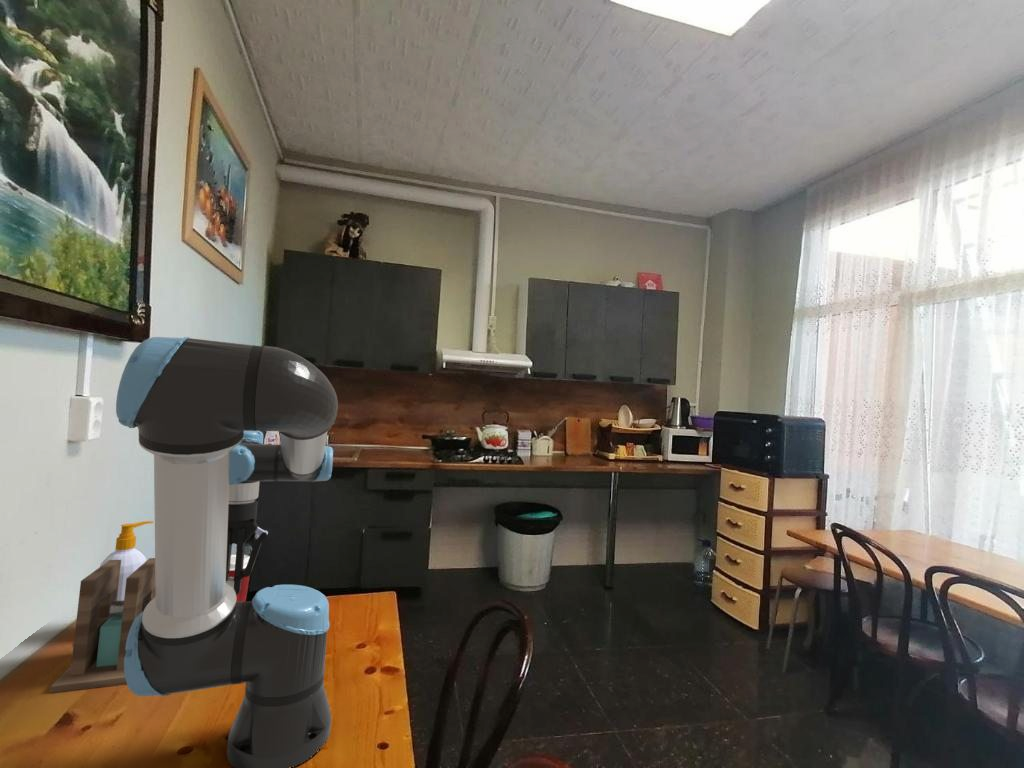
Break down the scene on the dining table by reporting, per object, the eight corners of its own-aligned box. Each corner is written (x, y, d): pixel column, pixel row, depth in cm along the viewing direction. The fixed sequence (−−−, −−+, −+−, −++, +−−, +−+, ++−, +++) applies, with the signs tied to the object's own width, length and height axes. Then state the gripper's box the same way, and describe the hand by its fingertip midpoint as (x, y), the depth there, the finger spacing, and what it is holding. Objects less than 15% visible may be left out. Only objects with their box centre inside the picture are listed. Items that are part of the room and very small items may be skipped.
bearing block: (163, 679, 89) (173, 581, 90) (49, 693, 83) (61, 587, 84) (190, 634, 106) (198, 552, 107) (97, 643, 100) (107, 556, 101)
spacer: (119, 664, 91) (123, 625, 91) (96, 666, 90) (100, 627, 90) (134, 645, 98) (138, 608, 98) (113, 647, 96) (117, 610, 97)
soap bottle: (152, 626, 108) (163, 523, 109) (102, 643, 100) (115, 531, 101) (132, 617, 112) (143, 517, 113) (83, 632, 104) (95, 524, 105)
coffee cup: (236, 611, 118) (242, 551, 119) (254, 620, 114) (260, 558, 115) (200, 623, 111) (207, 559, 112) (219, 633, 107) (225, 567, 108)
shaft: (212, 620, 97) (214, 593, 98) (105, 629, 91) (108, 600, 91) (218, 609, 103) (220, 583, 103) (117, 617, 96) (120, 589, 96)
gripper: (273, 496, 108) (264, 600, 107) (208, 497, 103) (198, 605, 102) (269, 503, 101) (259, 614, 100) (199, 504, 96) (187, 620, 95)
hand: (228, 609), depth 101 cm, fingers closed
